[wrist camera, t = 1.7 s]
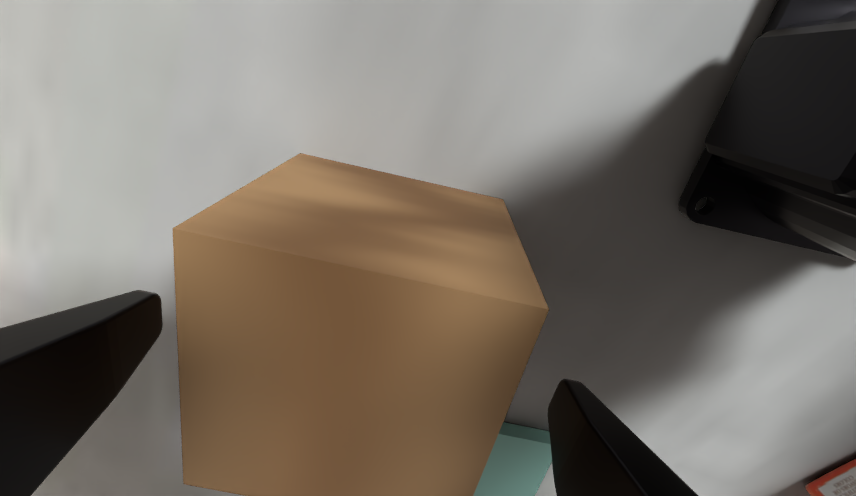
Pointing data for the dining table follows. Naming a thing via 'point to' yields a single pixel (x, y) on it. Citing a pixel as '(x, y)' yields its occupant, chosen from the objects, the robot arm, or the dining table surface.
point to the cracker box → (835, 482)
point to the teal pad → (516, 462)
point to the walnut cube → (349, 334)
